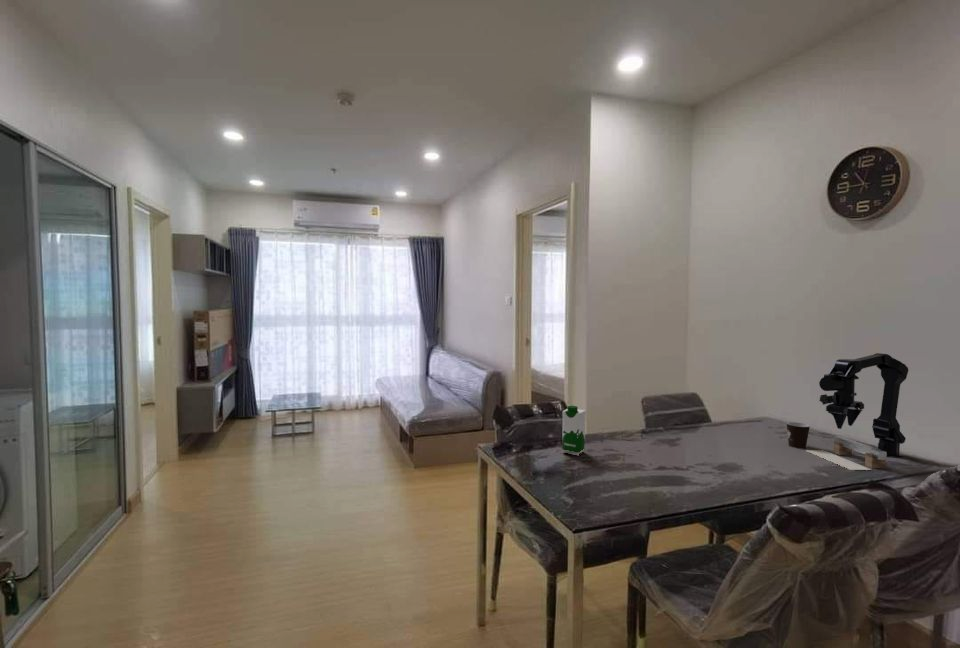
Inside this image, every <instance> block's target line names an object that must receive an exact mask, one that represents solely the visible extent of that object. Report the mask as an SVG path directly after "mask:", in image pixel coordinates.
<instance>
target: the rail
mask: <svg viewBox="0 0 960 648" xmlns="http://www.w3.org/2000/svg"><path fill="white" fill-rule="evenodd" d="M834 441H837V442H839V443H841V446H844V447H846V448H849V449H852V451H853V452H854V451H855V452H857V453H860V454H863V455H865V456H866V453H869V454H872V455H874V458H876V459H878V460H886V461H887V457H888V456H887V452H885V451H882V450H879V449H878V447H873V446H871V445H868V444H865V443H862V442H858V441H855V440H853V439H850V438H848V437H844V436H842V435H833V442H834Z"/></svg>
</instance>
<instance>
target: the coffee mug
mask: <svg viewBox="0 0 960 648" xmlns="http://www.w3.org/2000/svg"><path fill="white" fill-rule="evenodd" d="M810 427H811V425H810V424H807V423H803V422H796V421H789V422H786V431H787V433H786V434H787V441H788V446H789V447H791V448H794V447H795V449H801V448H804V449H806V448H807V443H808V438H809V431H810Z"/></svg>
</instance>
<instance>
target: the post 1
mask: <svg viewBox="0 0 960 648" xmlns="http://www.w3.org/2000/svg"><path fill="white" fill-rule="evenodd" d="M832 452H833V453H832V454H834V453H835V454H834V455H837V454H838V455H837V456H852V455H853V450H852V449H849V448H846V447H844V446H841V443H839V442H837V441H834V440H833V451H832Z"/></svg>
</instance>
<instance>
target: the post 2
mask: <svg viewBox="0 0 960 648" xmlns="http://www.w3.org/2000/svg"><path fill="white" fill-rule="evenodd" d="M864 458H865V459H864V460H865V461H864V463H865V464H864V465H865V466H864V467H866V468H869V467H870V468H869V469H876V468H886V467H887V465H886V464H887V459H886V460H878V459H876V458H874V455H872V454H869V453H866V455H865V457H864ZM886 469H887V468H886Z"/></svg>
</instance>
